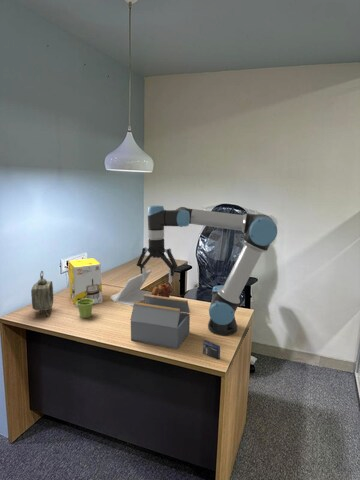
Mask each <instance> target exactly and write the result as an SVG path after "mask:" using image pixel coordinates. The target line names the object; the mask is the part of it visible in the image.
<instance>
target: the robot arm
mask: <svg viewBox="0 0 360 480" xmlns="http://www.w3.org/2000/svg"><path fill="white" fill-rule="evenodd" d="M189 225H197V226H205V227H212V228H219V229H227V230H233V231H241V232H242V233H243V234H245V235H244V237H243V240H242V241H243V243H244V244H243V247H242V249H241V251H240V253H239V255H238V257H237V258H236V260H235V263H234V265H233V266H232V269H231V270H230V272H229V275H228V276H227V278H226V281H224V282H225V283H223V284H224V285H215V286H213V287H212V291H211V292H212V294H211V295H212V297H211V302H210V305H209V307H208V315H209V317H210V318H209V321H208V323H207V329H208V331H209V332H210V333H213V334H215V335H219V336H230V335H233V334H235V333H237V331H238V324H237V321H236V317H235V314H236V313H235V312H237V309H238V307H239V305H240V303H241V300H240V296H241V294H242V292H243V290H244V288H245V286H246V284H247V283H248V281H249V278H250V277H251V275H252V273H253V271H254V269H255V267H256V265H257V263H258V261H259V260H260V257H261V255H262V254H263V253H265V252H268V249H269V248H270V246H271V244H272V243H274V241H275V240H276V238H277V237H278V226H277V224H276V222H275V221H274V220H273V219H272V217H270V216H269V215H267V214H262V213H261V214H259V213H258V214H256V213H244V215H243V214H237V213H228V212H222V211H220V212H219V211H213V210H212V211H211V210H206V209H205V210H204V209H196V208H195V209H194V208H189V207H186V206H180V207H178V208H176V209H173V210H169V209H165V208H164V206H163V205H150V206H148V208H147V234H148V236H147V237H148V247H146V246H144V247H142V251H141V254H140V256H139V258H138V261H137V262H136V266H137V267H139V268H140V274H142V278H143V281H145V282H146V281H147V279H146V272H147V268H146V264H147V263H148V262H149V261H150V260H151V259H152V258H153V259H155V258H156V259H161V260H162V261H163V262H164V263H165V265H166V266H167V267H168V268H169V269H168V283H169V284H171V283H172V282H173V277H174V276H175V270H176V269H177V268H178V266H179V265H178V264H177V261H176V260H175V257H174V255H173V253H172V248H166V247H165V227H180V228H182V227H189ZM147 252H148V253H149V254H148V255H147V257H145V256H146V254H147ZM165 253H166V254H167V256H168V257H167V256H166V254H165ZM144 258H145V259H144Z"/></svg>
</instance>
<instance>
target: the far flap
mask: <svg viewBox="0 0 360 480" xmlns="http://www.w3.org/2000/svg"><path fill="white" fill-rule="evenodd" d="M143 297H144V299H145V300H144V302H145V304H151V305H158V306H165V307H171V308H178V309H181V310H180V313H187V314H190V313H191V311H190V306H189V300H188V299H182V298H181V299H180V298H175V297H173V298H172V297H169V298H168V297H161V296H158V295H157V296H154V295H147V294H144V295H143Z"/></svg>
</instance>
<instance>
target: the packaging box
mask: <svg viewBox="0 0 360 480" xmlns="http://www.w3.org/2000/svg"><path fill="white" fill-rule="evenodd" d="M67 263H68V264H67V265H68V268H67V269H68V280H69V281H68V283H69V285H68V286H69V297H70V301H71V303H72V304H73V305H74V307H75V308H78V305H77V301H78V300H81V299H92V300H94V302H93V305H96V304H101V303H103V291H102V290H103V289H102V288H103V287H102V264H101V262H99V261H98V260H97V259H95V258H93V257H92V258H91V257H90V258H83V259H74V260H68V261H67Z"/></svg>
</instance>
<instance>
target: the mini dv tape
mask: <svg viewBox="0 0 360 480" xmlns="http://www.w3.org/2000/svg"><path fill="white" fill-rule="evenodd" d="M202 354H203V355H205V356H207V357H210V358H213V359H215V360H220V359H221V345H218V344H216V343H214V342H211V341H208V340H203V341H202Z"/></svg>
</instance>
